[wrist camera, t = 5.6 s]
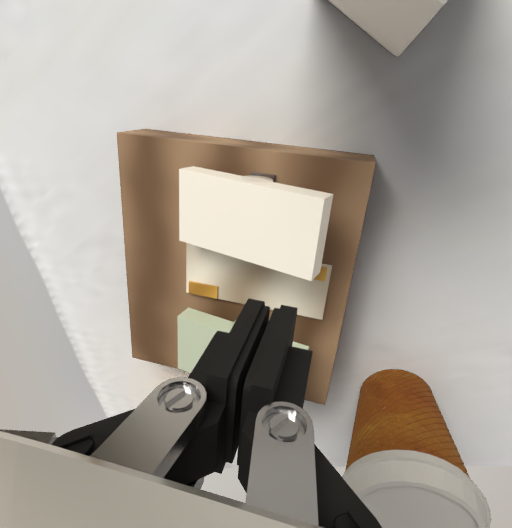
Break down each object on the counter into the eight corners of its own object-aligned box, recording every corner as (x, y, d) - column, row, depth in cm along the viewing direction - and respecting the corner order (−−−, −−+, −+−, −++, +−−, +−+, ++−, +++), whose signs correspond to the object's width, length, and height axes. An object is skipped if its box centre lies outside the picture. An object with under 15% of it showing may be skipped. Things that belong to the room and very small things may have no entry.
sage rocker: (313, 339, 27) (302, 358, 25) (303, 391, 29) (293, 413, 27) (195, 301, 31) (177, 316, 29) (194, 351, 33) (177, 368, 31)
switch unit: (373, 155, 27) (376, 165, 23) (328, 373, 35) (324, 410, 31) (145, 128, 30) (111, 133, 26) (153, 333, 39) (128, 361, 34)
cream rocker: (338, 191, 22) (324, 198, 20) (325, 267, 24) (311, 281, 22) (202, 164, 26) (179, 168, 24) (200, 231, 28) (179, 240, 26)
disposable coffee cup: (433, 342, 31) (471, 466, 21) (466, 427, 34) (515, 578, 23) (326, 366, 35) (312, 483, 24) (363, 442, 37) (364, 579, 27)
